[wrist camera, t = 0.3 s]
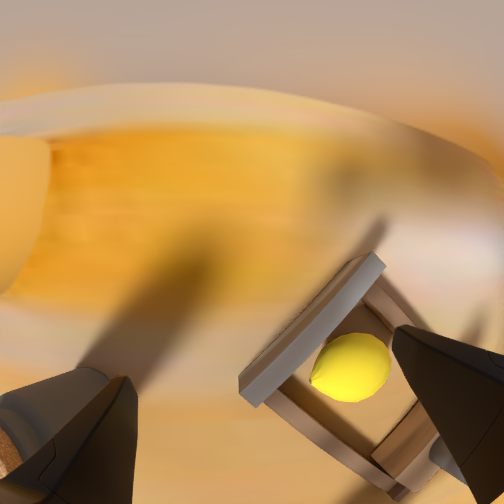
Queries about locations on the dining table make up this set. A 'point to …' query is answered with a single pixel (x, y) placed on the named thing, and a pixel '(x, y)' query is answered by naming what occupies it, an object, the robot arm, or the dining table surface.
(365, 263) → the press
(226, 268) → the dining table surface
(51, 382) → the bottle
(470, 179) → the dining table surface
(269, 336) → the dining table surface
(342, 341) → the lemon
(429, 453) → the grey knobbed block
